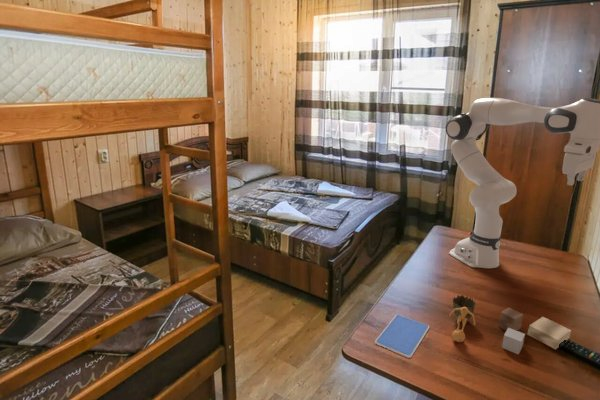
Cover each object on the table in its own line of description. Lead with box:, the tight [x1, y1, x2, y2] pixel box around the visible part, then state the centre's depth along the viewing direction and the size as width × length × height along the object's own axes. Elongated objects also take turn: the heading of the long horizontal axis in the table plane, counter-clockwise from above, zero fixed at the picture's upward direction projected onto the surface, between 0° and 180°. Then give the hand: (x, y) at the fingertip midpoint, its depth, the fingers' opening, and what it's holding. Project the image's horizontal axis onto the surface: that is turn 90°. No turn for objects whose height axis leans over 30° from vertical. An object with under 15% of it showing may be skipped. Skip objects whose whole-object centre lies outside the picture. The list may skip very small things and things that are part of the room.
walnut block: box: [497, 307, 524, 332], centre depth 134 cm, size 5×5×6 cm
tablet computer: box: [374, 314, 430, 359], centre depth 131 cm, size 19×13×1 cm, turn 144°
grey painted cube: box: [501, 328, 526, 355], centre depth 124 cm, size 5×5×5 cm
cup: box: [452, 295, 477, 323], centre depth 138 cm, size 8×7×8 cm
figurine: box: [448, 307, 476, 343], centre depth 127 cm, size 8×6×12 cm
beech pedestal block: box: [526, 316, 572, 350], centre depth 129 cm, size 9×9×4 cm
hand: (575, 182), depth 141 cm, fingers open, 8 cm apart
